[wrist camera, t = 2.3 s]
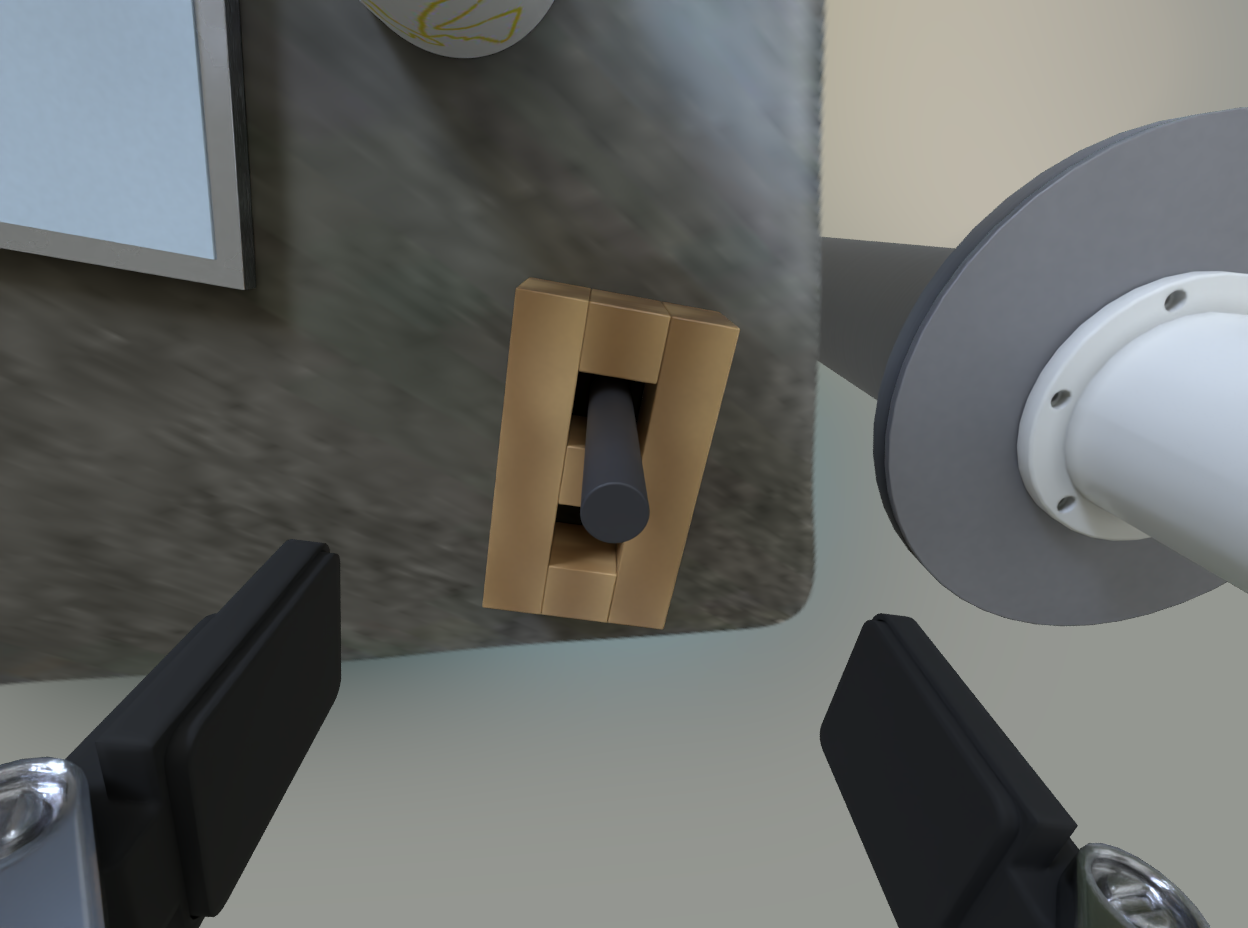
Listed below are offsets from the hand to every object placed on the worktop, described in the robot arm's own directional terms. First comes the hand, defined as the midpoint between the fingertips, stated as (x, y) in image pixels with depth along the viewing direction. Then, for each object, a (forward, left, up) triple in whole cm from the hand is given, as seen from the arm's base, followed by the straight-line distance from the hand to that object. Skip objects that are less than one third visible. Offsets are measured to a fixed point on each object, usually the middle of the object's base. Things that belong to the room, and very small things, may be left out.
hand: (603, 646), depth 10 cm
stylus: (0, 0, -17) cm, 17 cm away
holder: (0, +3, -17) cm, 17 cm away
